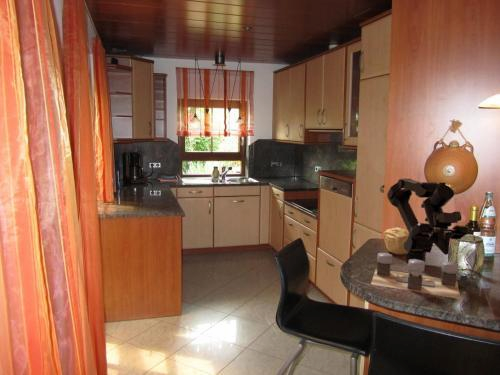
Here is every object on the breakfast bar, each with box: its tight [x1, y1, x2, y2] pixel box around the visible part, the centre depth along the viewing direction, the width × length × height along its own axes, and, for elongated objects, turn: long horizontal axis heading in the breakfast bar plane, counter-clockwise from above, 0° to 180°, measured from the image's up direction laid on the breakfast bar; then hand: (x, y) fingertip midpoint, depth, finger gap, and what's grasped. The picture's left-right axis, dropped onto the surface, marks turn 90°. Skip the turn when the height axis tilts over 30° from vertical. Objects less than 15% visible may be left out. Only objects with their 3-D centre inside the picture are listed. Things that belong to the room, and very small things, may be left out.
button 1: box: [376, 252, 393, 265], centre depth 151 cm, size 5×5×5 cm
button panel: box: [370, 262, 462, 300], centre depth 144 cm, size 16×27×6 cm, turn 68°
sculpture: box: [383, 227, 409, 255], centre depth 181 cm, size 12×12×11 cm
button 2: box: [440, 261, 459, 275], centre depth 143 cm, size 5×5×5 cm
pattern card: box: [396, 274, 434, 287], centre depth 145 cm, size 6×12×1 cm, turn 68°
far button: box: [407, 259, 426, 278], centre depth 139 cm, size 5×5×5 cm
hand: (446, 254), depth 143 cm, fingers closed
